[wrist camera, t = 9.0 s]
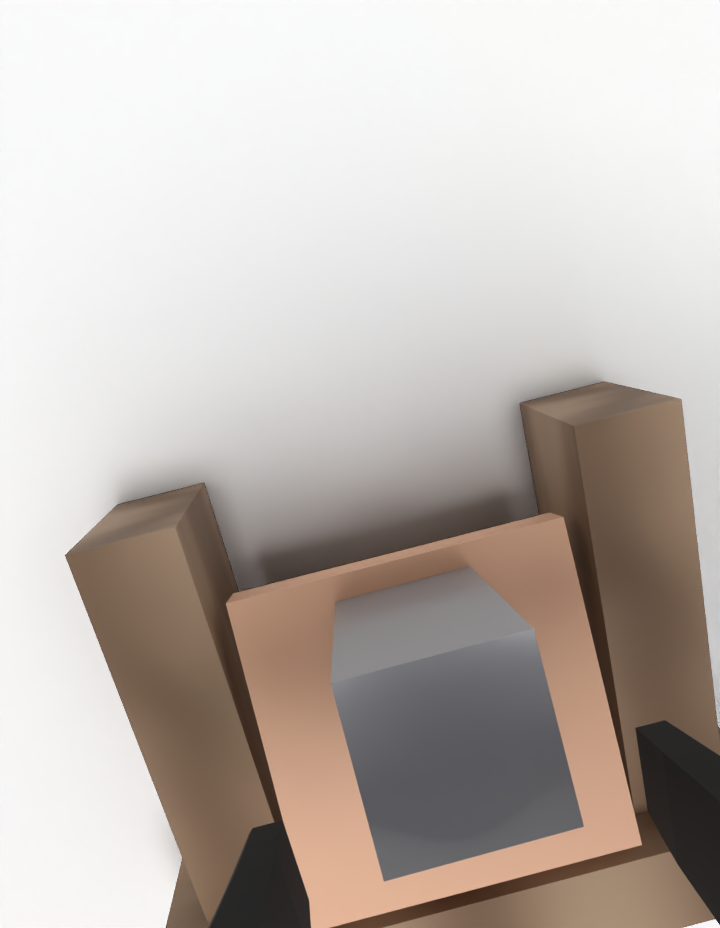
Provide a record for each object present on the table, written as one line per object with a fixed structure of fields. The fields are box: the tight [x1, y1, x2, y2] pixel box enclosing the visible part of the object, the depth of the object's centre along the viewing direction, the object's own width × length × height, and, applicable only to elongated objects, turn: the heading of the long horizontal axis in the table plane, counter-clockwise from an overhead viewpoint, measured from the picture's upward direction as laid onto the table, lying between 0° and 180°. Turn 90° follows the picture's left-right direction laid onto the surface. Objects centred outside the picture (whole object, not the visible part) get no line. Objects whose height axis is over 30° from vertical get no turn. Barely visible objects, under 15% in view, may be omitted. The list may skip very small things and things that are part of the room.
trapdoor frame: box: [65, 382, 720, 928], centre depth 20 cm, size 20×16×6 cm
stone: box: [331, 566, 584, 882], centre depth 15 cm, size 4×4×6 cm
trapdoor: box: [226, 512, 642, 928], centre depth 18 cm, size 10×10×1 cm
